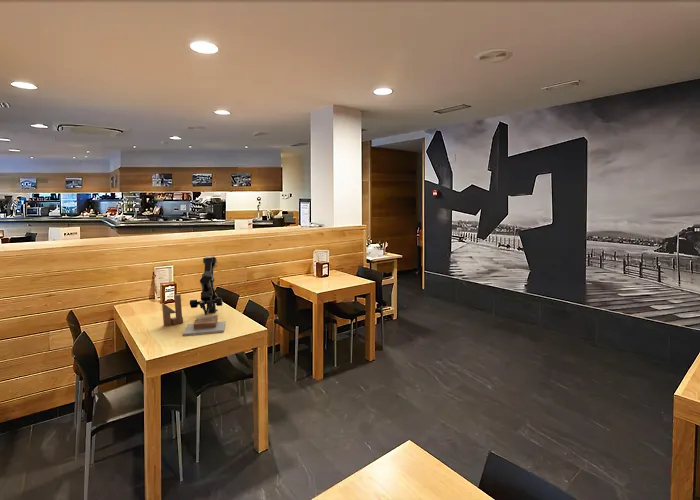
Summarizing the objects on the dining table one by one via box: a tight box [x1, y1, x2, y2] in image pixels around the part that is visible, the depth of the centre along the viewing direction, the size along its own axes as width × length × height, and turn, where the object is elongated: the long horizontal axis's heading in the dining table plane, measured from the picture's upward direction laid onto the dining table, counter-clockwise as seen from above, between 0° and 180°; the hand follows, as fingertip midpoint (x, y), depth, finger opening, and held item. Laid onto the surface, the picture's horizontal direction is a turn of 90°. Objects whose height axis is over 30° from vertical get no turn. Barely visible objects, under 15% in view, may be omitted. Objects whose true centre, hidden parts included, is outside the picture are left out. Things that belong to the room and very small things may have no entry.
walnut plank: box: [193, 315, 219, 329], centre depth 240 cm, size 3×12×14 cm
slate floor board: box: [182, 320, 227, 337], centre depth 236 cm, size 18×22×1 cm
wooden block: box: [161, 293, 184, 327], centre depth 245 cm, size 4×11×18 cm, turn 127°
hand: (205, 314), depth 242 cm, fingers closed
